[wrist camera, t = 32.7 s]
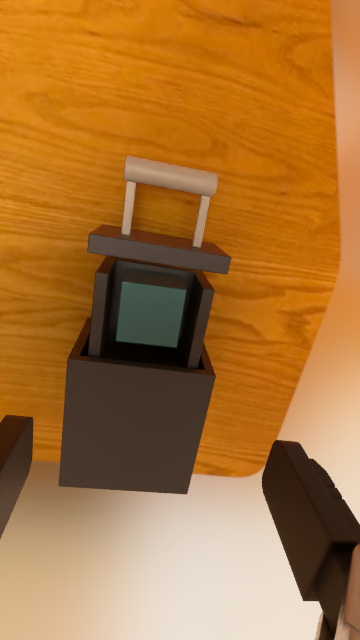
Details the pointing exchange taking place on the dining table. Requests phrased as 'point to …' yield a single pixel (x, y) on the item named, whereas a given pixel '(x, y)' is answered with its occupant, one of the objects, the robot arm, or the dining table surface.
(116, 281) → the drawer
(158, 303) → the block
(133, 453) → the cabinet
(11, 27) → the dining table surface
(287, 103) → the dining table surface
